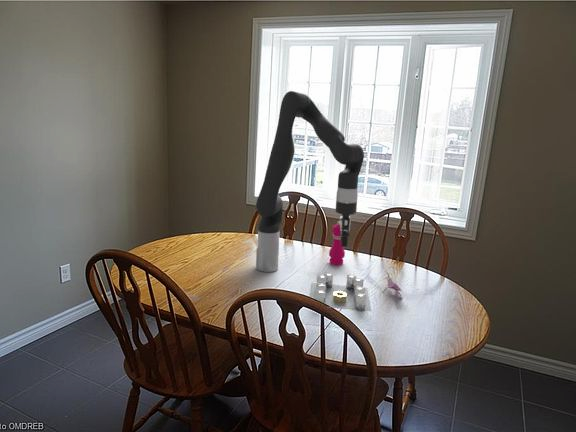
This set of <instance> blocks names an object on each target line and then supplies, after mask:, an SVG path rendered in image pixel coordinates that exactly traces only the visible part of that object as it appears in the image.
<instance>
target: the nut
mask: <svg viewBox="0 0 576 432" xmlns="http://www.w3.org/2000/svg"><path fill="white" fill-rule="evenodd" d="M333 301H334V302H337V303H344V302H346V293H345V292H342V291H336V292H334V293H333Z"/></svg>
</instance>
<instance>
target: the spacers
mask: <svg viewBox="0 0 576 432" xmlns="http://www.w3.org/2000/svg"><path fill="white" fill-rule="evenodd" d="M316 276H317V277H316V283H317V284H316V291H315V299H317V300H319V301H321V302H323V303H325V296H326V288H332V285H334V284H333V282H334V274H333V273H332V272H325V273H323V274H319V275H316ZM345 286H346V289H348V290H353V293H354V302H355V311H358V312H363V311H364V310H365V304H366V295H365V288H366V287H365V288H364V279H363V278H360V277H357V275H355V274H347V275H346V284H345Z"/></svg>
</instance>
